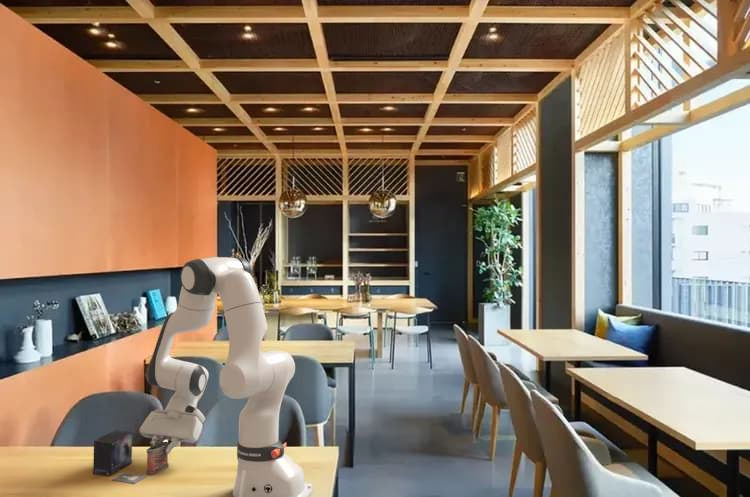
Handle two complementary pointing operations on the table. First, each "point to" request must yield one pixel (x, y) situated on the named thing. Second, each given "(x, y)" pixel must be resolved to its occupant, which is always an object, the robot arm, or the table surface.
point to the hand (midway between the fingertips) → (159, 451)
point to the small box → (112, 452)
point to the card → (129, 478)
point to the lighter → (157, 456)
